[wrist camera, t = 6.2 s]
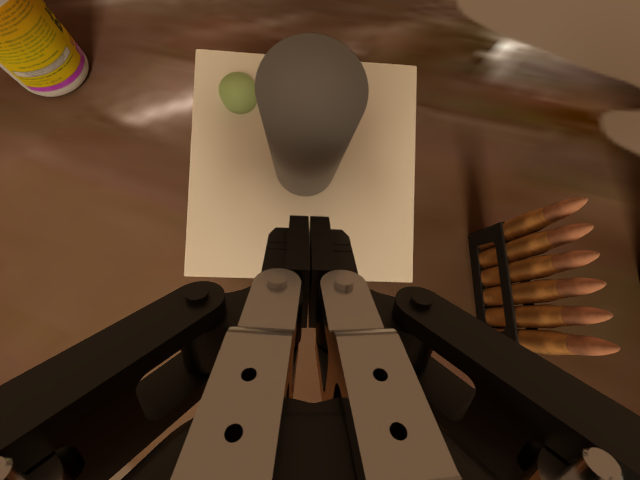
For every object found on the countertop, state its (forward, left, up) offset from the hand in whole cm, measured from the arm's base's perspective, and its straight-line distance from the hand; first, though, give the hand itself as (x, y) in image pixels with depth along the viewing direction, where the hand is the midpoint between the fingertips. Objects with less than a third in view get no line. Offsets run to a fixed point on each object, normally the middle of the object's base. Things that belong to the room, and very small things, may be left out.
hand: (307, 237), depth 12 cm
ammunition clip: (-18, 0, -17) cm, 24 cm away
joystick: (0, -7, -8) cm, 11 cm away
